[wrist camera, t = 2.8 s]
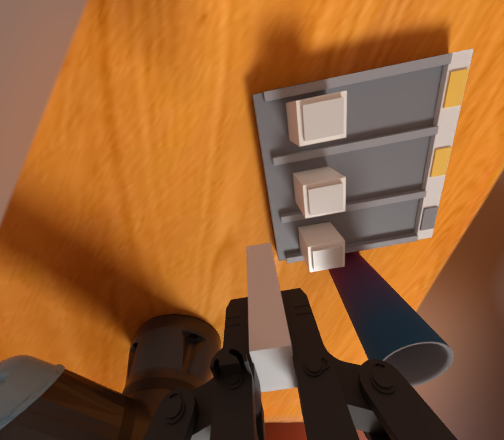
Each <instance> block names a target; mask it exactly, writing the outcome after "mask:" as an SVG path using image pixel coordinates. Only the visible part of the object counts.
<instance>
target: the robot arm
mask: <svg viewBox="0 0 504 440" xmlns="http://www.w3.org/2000/svg"><path fill="white" fill-rule="evenodd" d="M247 285H248V297H245V298H239V299H233V300H231V301H230V303H229V305H228V306H227V308H226V318H225V319H226V320H225V330H224V342H223V348H222V349H221V340H220V337H219V335H218V333H217V332H216V331H215V330H214V329H213V328H212V327H211V326H210V325H208V324H207V323H205V322H203V321H201V320H199V319H196V318H193V317H189V316H184V315H165V316H160V317H156V318H153V319H151V320H149V321H147V322H146V323H144V324H143V325H142V326H141V327H140V328H139V329H138V331H137V333H136V335H135V337H134V339H133V341H132V343H131V346H130V352H129V360H128V368H127V376H126V384H125V388H124V390H123V393H122V394H121V393H119V392H117V391H114V390H112V389H110V388H107V387H105V386H103V385H101V384H98V383H96V382H94V381H91V380H89V379H87V378H85V377H82V376H80V375H78V374H76V373H73V372H71V371H69V370H66V369H65V367H64V366H62V365H60V364H58V365H54V364H51V363H48V362H46V361H43V360H40V359H37V358H35V357H32V356H28V355H19V356H14V357H11V358H8V359H5V360H3V361H2V362H0V440H265V425H264V411H263V407H262V403H261V392H267V391H274V390H281V389H288V388H296V387H298V393H299V398H300V404H301V410H302V415H303V420H304V424H305V430H306V435H307V440H359V437H358V435H357V432H356V429H358V430H361V431H363V432H364V434H365V436H366V437H367V439H368V440H457V439H456V437H455V436H454V435H453V434H452V433H451V432H450V430H449V429H448V428H447V427H446V426H445V425H444V423H443V422H442V421H441V420H440V419H439V418H438V416H437V415H436V414H435V413H434V412H433V411H432V409H431V408H430V407H429V406H428V405H427V403H426V402H425V401H424V400H423V399H422V398H421V397H420V395H419V394H418V393H417V392H416V391H415V389H414V388H413V387H412V386H411V385H410V384H409V382H408V381H407V380H406V379H405V378H404V376H403V375H402V374H401V373H400V372H399V371H398V370H397V369H396V368H395V367H394V366H392V365H391V364H389V363H387V362H385V361H383V360H377V359H372V360H367V361H366V362H364V363H363V364H362V365H357V364H352V363H347V362H343V361H340V360H338V359H336V358H335V357H333V356H332V355H331V354H330V353H329V352H328V351H327V350H326V348H325V346H324V344H323V342H322V339H321V336H320V333H319V330H318V327H317V324H316V321H315V319H314V316H313V313H312V310H311V307H310V304H309V301H308V298H307V295H306V294H305V293H304V292H303V291H302V290H301V289H300V288H297V289H291V290H285V291H280V287H279V282H278V277H277V272H276V267H275V262H274V257H273V253H272V248H271V243H266V244H260V245H254V246H248V247H247ZM213 376H214V377H213ZM212 377H213V378H212ZM260 389H261V390H260Z"/></svg>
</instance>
